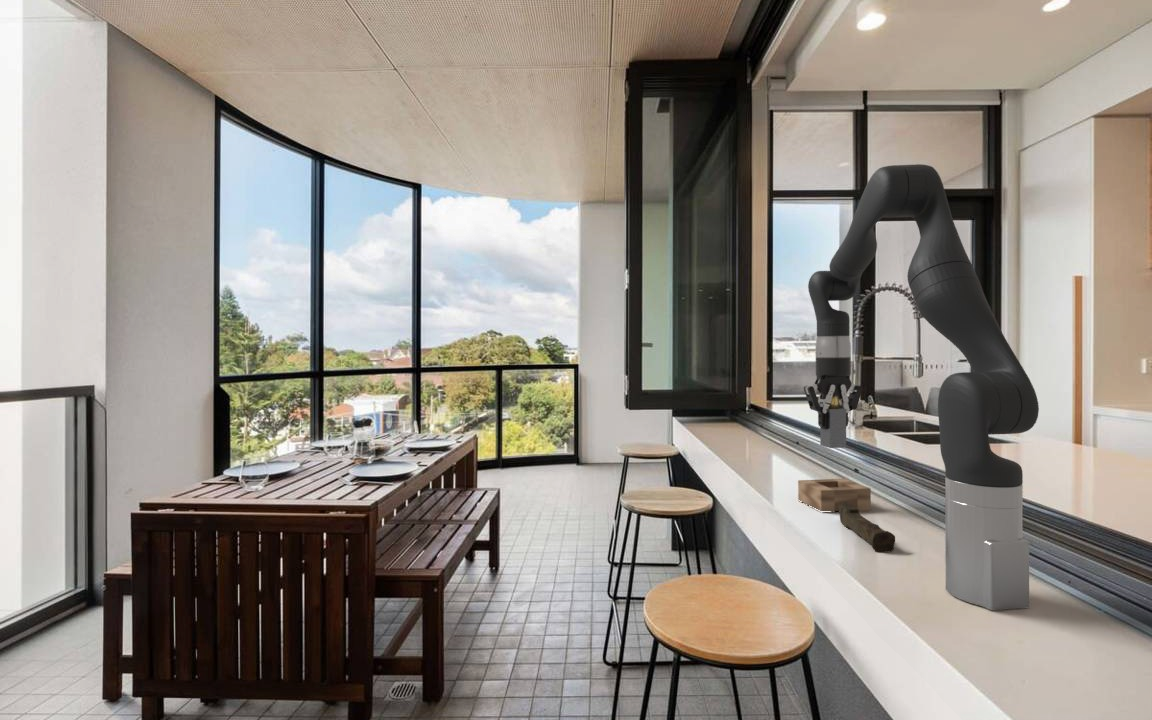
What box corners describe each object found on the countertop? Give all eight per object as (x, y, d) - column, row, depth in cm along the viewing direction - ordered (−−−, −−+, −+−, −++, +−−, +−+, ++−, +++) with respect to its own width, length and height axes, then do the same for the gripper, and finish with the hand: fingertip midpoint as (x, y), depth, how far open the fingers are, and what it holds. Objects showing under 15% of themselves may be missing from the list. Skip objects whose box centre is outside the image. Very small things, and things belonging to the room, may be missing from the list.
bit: (846, 447, 129) (846, 395, 128) (830, 448, 128) (829, 396, 128) (836, 444, 133) (835, 394, 132) (820, 445, 132) (820, 394, 132)
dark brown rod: (896, 554, 100) (896, 528, 100) (873, 553, 100) (873, 527, 100) (854, 522, 119) (854, 500, 119) (834, 521, 119) (834, 500, 119)
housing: (870, 510, 126) (870, 488, 126) (821, 512, 125) (821, 490, 125) (844, 498, 136) (844, 478, 136) (798, 500, 135) (798, 480, 135)
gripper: (813, 356, 125) (813, 431, 126) (871, 355, 127) (871, 430, 127) (796, 356, 133) (796, 427, 133) (851, 355, 135) (851, 425, 135)
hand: (833, 428), depth 130 cm, fingers closed on bit, 4 cm apart
